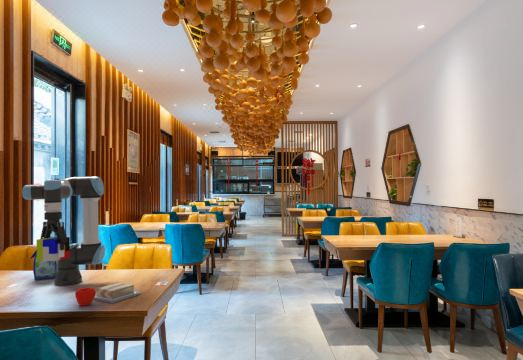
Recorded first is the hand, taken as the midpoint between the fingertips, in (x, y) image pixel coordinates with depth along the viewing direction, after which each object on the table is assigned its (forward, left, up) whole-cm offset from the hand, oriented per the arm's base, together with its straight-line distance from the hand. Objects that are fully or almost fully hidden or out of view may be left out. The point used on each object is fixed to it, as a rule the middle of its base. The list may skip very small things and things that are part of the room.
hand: (53, 256), depth 183 cm
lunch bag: (-70, +36, -24) cm, 82 cm away
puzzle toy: (0, 0, -2) cm, 2 cm away
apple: (+12, +8, -24) cm, 28 cm away
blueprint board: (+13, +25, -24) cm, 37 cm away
